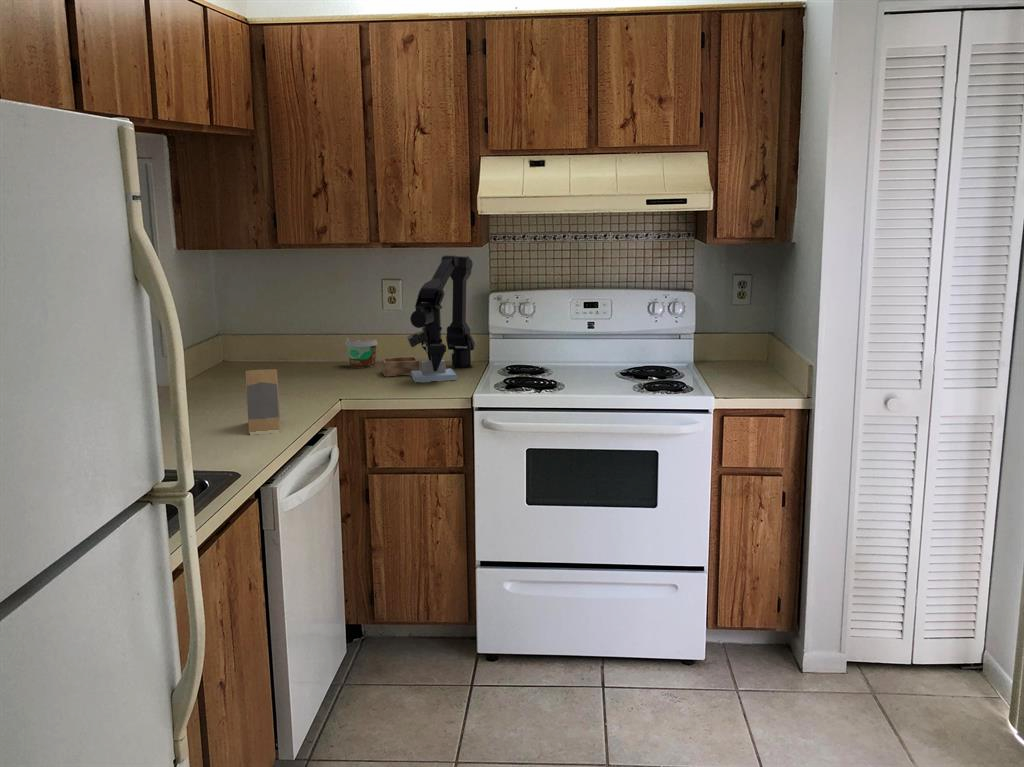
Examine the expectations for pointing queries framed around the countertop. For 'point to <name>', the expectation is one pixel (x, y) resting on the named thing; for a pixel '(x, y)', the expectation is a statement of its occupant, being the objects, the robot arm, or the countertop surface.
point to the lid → (433, 373)
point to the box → (399, 365)
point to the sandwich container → (262, 400)
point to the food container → (362, 352)
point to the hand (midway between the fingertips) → (433, 369)
